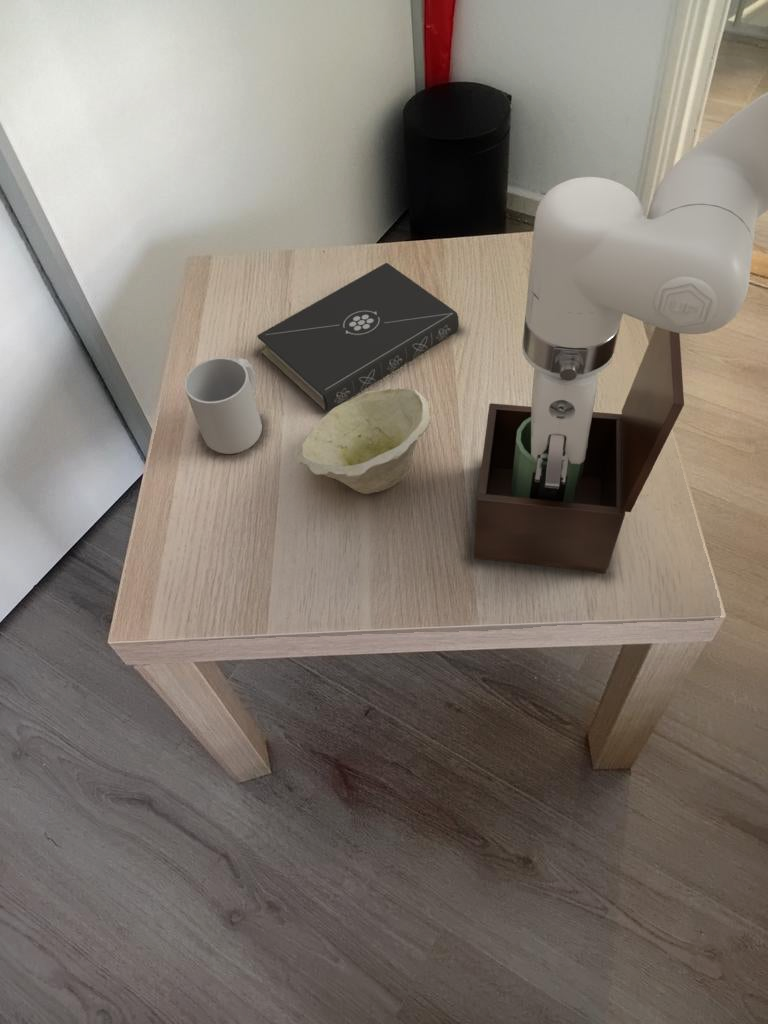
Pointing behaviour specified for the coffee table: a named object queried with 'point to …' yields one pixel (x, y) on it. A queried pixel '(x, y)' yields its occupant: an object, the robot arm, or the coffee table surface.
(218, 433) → the cup
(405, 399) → the bowl
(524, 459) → the green cup
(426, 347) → the book
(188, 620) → the coffee table surface
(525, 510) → the chest
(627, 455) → the lid
